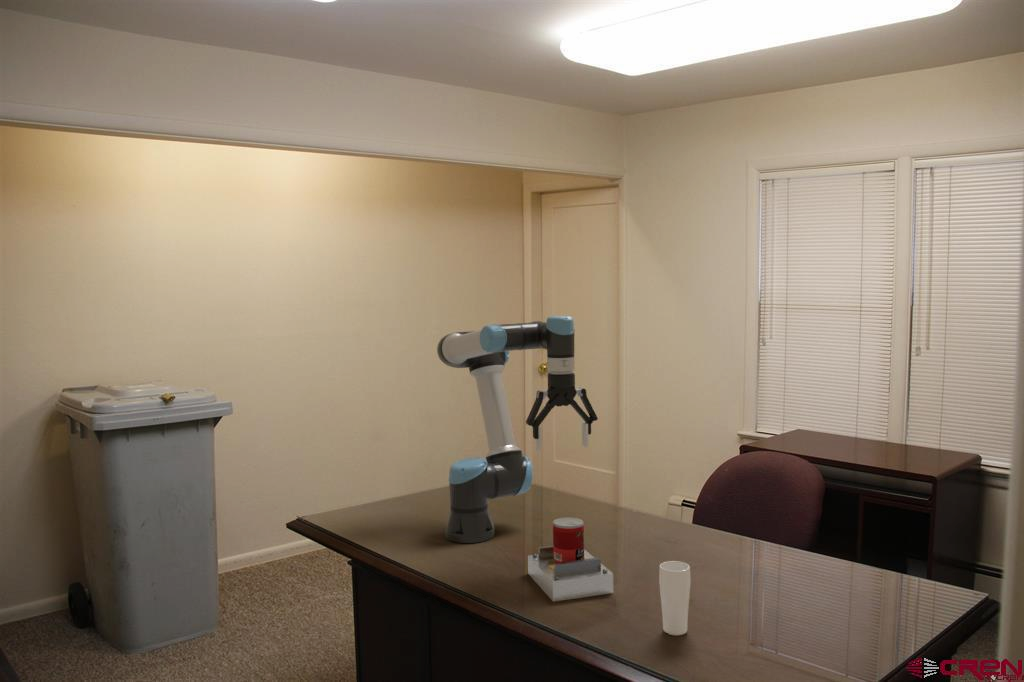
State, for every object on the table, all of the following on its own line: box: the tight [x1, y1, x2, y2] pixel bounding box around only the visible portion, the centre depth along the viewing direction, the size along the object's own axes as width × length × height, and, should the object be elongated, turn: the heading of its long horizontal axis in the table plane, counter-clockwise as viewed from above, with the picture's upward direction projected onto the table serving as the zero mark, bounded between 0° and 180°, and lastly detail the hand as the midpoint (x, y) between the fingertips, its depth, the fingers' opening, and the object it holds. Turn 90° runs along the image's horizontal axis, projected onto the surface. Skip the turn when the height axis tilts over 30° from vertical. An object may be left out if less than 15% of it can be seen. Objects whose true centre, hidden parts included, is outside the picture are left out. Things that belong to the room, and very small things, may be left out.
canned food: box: [552, 517, 585, 563], centre depth 213 cm, size 8×8×11 cm
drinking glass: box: [658, 560, 691, 636], centre depth 184 cm, size 7×7×15 cm
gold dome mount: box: [527, 545, 614, 602], centre depth 214 cm, size 20×16×8 cm
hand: (562, 448), depth 229 cm, fingers open, 13 cm apart
